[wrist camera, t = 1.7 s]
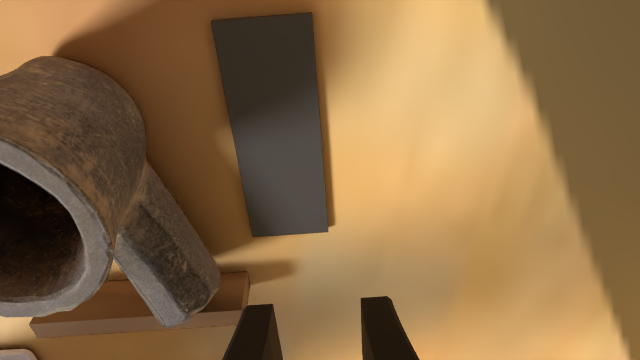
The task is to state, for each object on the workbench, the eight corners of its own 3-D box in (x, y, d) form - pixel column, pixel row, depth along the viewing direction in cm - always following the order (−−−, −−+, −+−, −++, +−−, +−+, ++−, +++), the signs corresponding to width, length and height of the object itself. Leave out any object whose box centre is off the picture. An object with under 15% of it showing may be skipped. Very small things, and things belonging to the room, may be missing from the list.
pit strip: (328, 227, 22) (328, 231, 22) (253, 233, 22) (252, 237, 22) (311, 12, 17) (311, 14, 16) (212, 20, 17) (211, 22, 16)
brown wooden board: (249, 285, 24) (244, 324, 22) (60, 298, 24) (37, 338, 22) (169, -91, 15) (146, -85, 13) (-138, -65, 15) (-210, -56, 13)
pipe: (155, 276, 24) (96, 432, 17) (-40, 48, 17) (-263, 157, 10) (262, 239, 22) (244, 391, 16) (96, -21, 16) (-55, 52, 9)
